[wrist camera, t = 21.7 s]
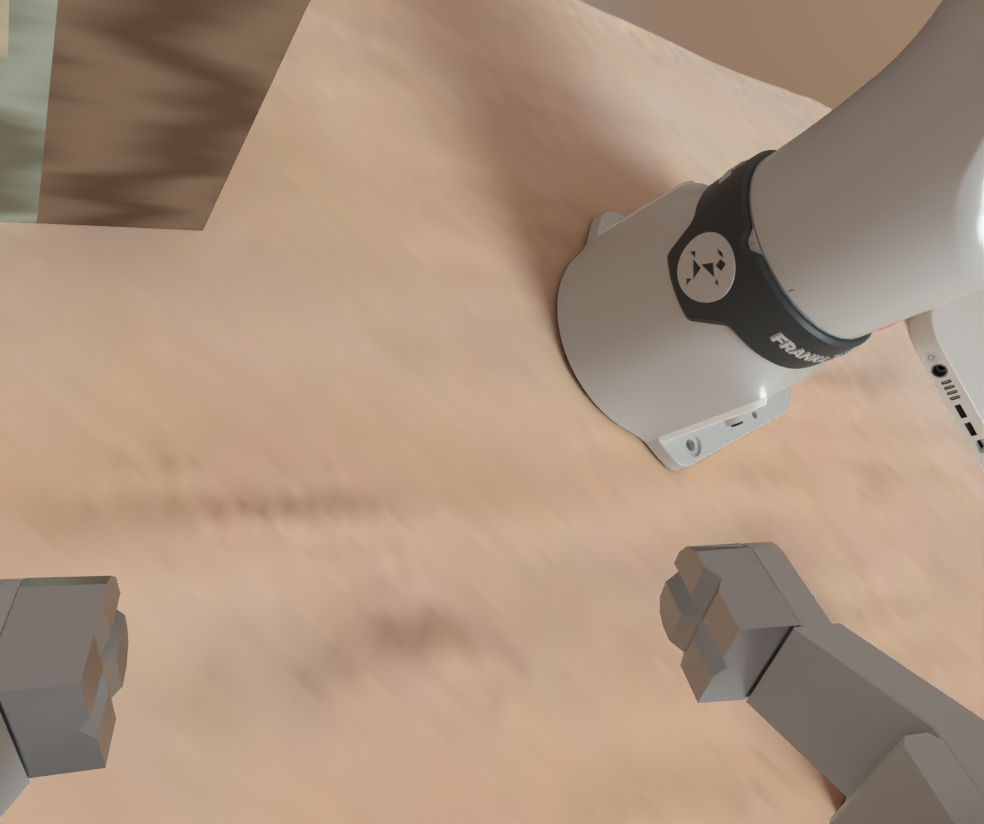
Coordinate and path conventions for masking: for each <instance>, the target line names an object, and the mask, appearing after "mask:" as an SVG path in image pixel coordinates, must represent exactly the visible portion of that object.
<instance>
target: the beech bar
mask: <svg viewBox="0 0 984 824" xmlns="http://www.w3.org/2000/svg"><path fill="white" fill-rule="evenodd" d="M8 33H9V0H0V58H1V59H8Z"/></svg>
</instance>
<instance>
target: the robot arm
mask: <svg viewBox="0 0 984 824" xmlns="http://www.w3.org/2000/svg"><path fill="white" fill-rule="evenodd" d="M983 288H984V0H942V2H941V3H940V5H939V6H938V7H937V9H936V10H935V12H934V13H933V15H932V16H931V17H930V19H929V20H928V21H927V22H926V24H925V25H924V26H923V28H922V29H921V30H920V31H919V32H918V34H917V35H916V36H915V37H914V38H913V39H912V41H911V42H910V43H909V44H908V45H907V46H906V47H905V48H904V49H903V51H902V52H901V53H900V54H899V55H898V56H897V57H896V58H895V59H894V60H893V61H892V62H891V63H890V64H888V65H887V66H886V67H885V68H884V69H883V70H882V71H881V72H880V73H878V74H877V75H876V76H875V77H874V78H872V79H871V80H870V81H869V82H867V83H866V84H865V85H864V86H863V87H861V88H860V89H859V90H858V91H856V92H855V93H854V94H853V95H851V96H850V97H849V98H848V99H847V100H845V101H844V102H843V103H842V104H840V105H839V106H838V107H836V108H835V109H833V110H832V111H831V112H830V113H828V114H827V115H826V116H824V117H823V118H822V119H820V120H819V121H818V122H816V123H815V124H813V125H812V126H811V127H809V128H808V129H807V130H805V131H804V132H802V133H801V134H800V135H798V136H797V137H795V138H794V139H792V140H791V141H789V142H788V143H787V144H785V145H784V146H782V147H781V148H779V149H778V150H767V151H763V152H761V153H759V154H757V155H755V156H754V157H752V158H751V159H749V160H746V161H743V162H741V163H739V164H738V165H736V166H735V167H733V168H731V169H730V170H728V171H727V172H726V173H725V174H724V175H723V177H721V178H720V179H718V180H717V181H715V182H714V183H713V184H711V185H710V186H708V185H705V184H701V183H695V182H693V181H686V182H684V183H681V184H679V185H678V186H676V187H674V188H673V189H671V190H669V191H668V192H666V193H664V194H663V195H661V196H659V197H658V198H656V199H654V200H653V201H651V202H649V203H648V204H646V205H644V206H643V207H641V208H639V209H638V210H636V211H635V212H633V213H631V214H630V215H628V216H625V215H622V214H618V213H615V212H611V211H607V212H605V213H603V214H601V215H599V216H598V217H596V218H595V219H594V220H593V222H592V224H591V227H590V231H589V235H588V240H587V244H586V246H585V247H584V248H583V250H582V251H581V252H580V253H579V254H578V255H577V256H576V257H575V258H574V259H573V260H572V261H571V263H570V264H569V266H568V267H567V269H566V271H565V273H564V275H563V277H562V280H561V284H560V287H559V292H558V301H557V315H558V325H559V331H560V336H561V340H562V344H563V347H564V350H565V353H566V356H567V359H568V361H569V363H570V365H571V368H572V370H573V372H574V374H575V375H576V377H577V379H578V381H579V382H580V384H581V386H582V387H583V389H584V390H585V392H586V393H587V394H588V396H589V397H590V398H591V399H592V401H593V402H594V403H595V404H596V405H597V406H598V408H599V409H600V410H601V411H602V412H603V413H605V414H606V415H607V416H608V417H609V418H610V419H611V420H613V421H614V422H615V423H617V424H618V425H620V426H621V427H623V428H624V429H626V430H628V431H629V432H631V433H633V434H634V435H636V436H637V437H639V438H640V439H642V440H643V441H644V442H645V443H646V444H647V445H648V447H649V448H650V449H651V450H652V452H653V453H654V454H655V455H656V456H657V458H658V459H659V460H660V461H661V462H662V463H663V464H664V465H665V466H666V467H667V468H669V469H670V470H673V471H679V470H682V469H684V468H686V467H688V466H690V465H692V464H694V463H696V462H698V461H699V460H701V459H703V458H705V457H707V456H708V455H710V454H712V453H714V452H716V451H717V450H719V449H721V448H723V447H724V446H726V445H728V444H730V443H732V442H733V441H735V440H737V439H739V438H741V437H742V436H744V435H746V434H748V433H750V432H751V431H753V430H755V429H757V428H759V427H760V426H762V425H764V424H766V423H768V422H769V421H771V420H773V419H775V418H777V417H778V416H780V415H782V414H784V413H785V412H786V411H788V409H789V407H790V386H792V385H794V384H796V383H798V382H800V381H802V380H804V379H806V378H808V377H810V376H812V375H814V374H816V373H818V372H819V371H821V370H822V369H823V367H824V365H825V362H826V361H829V360H832V359H835V358H837V357H839V356H842V355H844V354H846V353H848V352H849V351H851V350H852V349H853V348H854V347H857V346H859V345H860V344H862V343H864V342H865V341H866V340H867V339H868V338H869V337H870V336H871V334H872V332H875V331H878V330H882V329H884V328H887V327H890V326H892V325H894V324H896V323H897V322H900V321H903V320H905V319H908V318H910V317H913V316H915V315H918V314H920V313H923V312H925V311H928V310H931V309H933V308H936V307H938V306H941V305H943V304H946V303H948V302H951V301H953V300H956V299H958V298H961V297H963V296H966V295H968V294H971V293H973V292H976V291H978V290H981V289H983ZM674 564H675V566H676V568H677V570H678V573H676V574H675V575H674V576H673V577H671V578H670V579H669V580H667V581H666V582H665V585H664V587H663V590H662V593H661V595H660V615H661V619H662V624H663V627H664V629H665V632H666V634H667V636H668V639H669V640H670V641H671V642H672V643H673V644H675V645H676V646H677V647H678V648H680V649H681V650H682V651H683V652H684V653H683V657H682V661H681V667H682V669H683V671H684V674H685V676H686V678H687V680H688V682H689V684H690V687H691V689H692V691H693V693H694V695H695V697H696V699H697V702H698V703H703V702H716V701H729V700H741V699H748V700H747V703H748V704H749V705H750V706H751V707H753V708H754V709H755V710H756V711H757V712H758V713H759V714H760V715H761V716H762V717H763V718H764V719H765V720H766V721H767V722H768V723H769V724H770V725H771V726H772V727H774V728H775V729H776V730H777V731H778V732H779V733H780V734H781V735H782V736H783V737H784V738H785V739H786V740H787V741H788V742H789V743H790V744H791V745H792V746H793V747H795V748H796V749H797V750H798V751H799V752H800V753H801V754H802V755H803V756H804V757H805V758H806V759H807V760H808V761H809V762H810V763H811V764H812V765H813V766H814V767H816V768H817V769H818V770H819V771H820V772H821V773H822V774H823V775H824V776H825V777H826V778H827V779H828V780H829V781H830V782H831V783H832V784H833V785H834V786H835V787H837V788H838V789H839V790H840V791H841V792H842V793H843V794H844V795H845V796H846V797H847V798H848V799H847V800H846V801H845V803H844V804H843V805H842V806H841V807H840V808H839V809H838V810H837V811H836V812H835V814H834V815H833V816H832V817H831V820H830V823H829V824H984V720H983V719H981V718H980V717H978V716H977V715H975V714H974V713H972V712H971V711H969V710H968V709H966V708H965V707H963V706H962V705H961V704H959V703H958V702H956V701H955V700H953V699H952V698H950V697H949V696H947V695H946V694H944V693H943V692H941V691H940V690H938V689H937V688H935V687H934V686H932V685H931V684H929V683H928V682H926V681H925V680H923V679H922V678H920V677H919V676H917V675H916V674H914V673H913V672H911V671H910V670H908V669H907V668H905V667H904V666H902V665H901V664H899V663H898V662H897V661H895V660H894V659H892V658H891V657H889V656H888V655H886V654H885V653H883V652H882V651H880V650H879V649H877V648H876V647H874V646H873V645H871V644H870V643H868V642H867V641H865V640H864V639H862V638H861V637H859V636H858V635H856V634H855V633H853V632H852V631H850V630H849V629H847V628H846V627H844V626H843V625H841V624H831V622H830V621H829V619H828V618H827V616H826V615H825V613H824V612H823V610H822V609H821V607H820V606H819V604H818V603H817V601H816V600H815V598H814V597H813V596H812V594H811V593H810V591H809V590H808V588H807V587H806V585H805V584H804V582H803V581H802V579H801V578H800V576H799V575H798V573H797V572H796V570H795V569H794V567H793V566H792V565H791V563H790V562H789V560H788V559H787V557H786V556H785V554H784V553H783V551H782V550H781V549H780V547H778V546H777V545H776V544H774V543H773V542H765V543H745V544H739V543H736V544H721V545H705V546H689V547H685V548H684V549H683V550H681V551H680V552H679V554H678V556H677V558H676V560H675V562H674ZM119 596H120V591H119V587H118V583H117V579H116V577H115V576H89V577H50V578H24V579H0V817H1V816H2V815H3V814H4V813H5V811H6V810H7V809H8V808H9V807H10V805H11V804H12V803H13V802H14V801H15V799H16V798H17V797H18V796H19V795H20V793H21V792H22V791H23V790H24V788H25V787H26V786H27V785H28V784H29V779H28V778H33V777H40V776H48V775H55V774H63V773H70V772H78V771H85V770H92V769H100V768H105V767H106V762H107V758H108V753H109V748H110V744H111V739H112V734H113V730H114V725H115V720H116V716H115V712H114V708H113V704H112V700H111V698H112V697H113V696H114V695H115V694H116V693H117V692H118V690H119V689H120V688H121V687H122V686H123V682H124V676H125V671H126V666H127V653H128V631H127V623H126V618H125V615H124V614H122V613H121V612H119V611H118V610H117V605H118V601H119Z"/></svg>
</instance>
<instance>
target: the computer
mask: <svg viewBox="0 0 984 824" xmlns="http://www.w3.org/2000/svg"><path fill="white" fill-rule="evenodd" d="M909 332H910V337H911V341H912V344H913V346H914V349H915V351H916V353H917V355H918V356H919V358H920V360H921V362H922V364H923V365H924V367H925V369H926V371H927V372H928V374H929V376H930V378H931V379H932V381H933V383H934V385H935V387H936V388H937V390H938V392H939V394H940V395H941V397H942V399H943V401H944V402H945V404H946V406H947V408H948V410H949V411H950V413H951V415H952V417H953V418H954V420H955V422H956V424H957V426H958V427H959V429H960V431H961V433H962V434H963V436H964V438H965V440H966V441H967V443H968V445H969V447H970V449H971V450H972V452H973V454H974V456H975V457H976V459H977V461H978V463H979V464H980V466H981V468H982V470H983V472H984V288H983V289H981V290H978V291H976V292H973V293H971V294H968V295H966V296H963V297H961V298H958V299H956V300H953V301H951V302H948V303H946V304H943V305H941V306H938V307H936V308H933V309H931V310H928V311H925V312H923V313H920V314H918V315H915V316H913V317H910V319H909Z"/></svg>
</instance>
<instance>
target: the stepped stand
mask: <svg viewBox="0 0 984 824" xmlns="http://www.w3.org/2000/svg"><path fill="white" fill-rule="evenodd" d="M309 2H310V0H9V33H8V59H1V58H0V221H7V222H29V223H51V224H73V225H95V226H117V227H140V228H162V229H184V230H203V229H204V227H205V225H206V222H207V220H208V218H209V216H210V214H211V212H212V210H213V207H214V205H215V203H216V201H217V199H218V197H219V195H220V192H221V190H222V188H223V186H224V184H225V182H226V180H227V177H228V175H229V173H230V171H231V169H232V167H233V165H234V162H235V160H236V158H237V156H238V154H239V152H240V150H241V147H242V145H243V143H244V141H245V139H246V137H247V135H248V132H249V130H250V128H251V126H252V124H253V122H254V120H255V117H256V115H257V113H258V111H259V109H260V107H261V105H262V102H263V100H264V98H265V96H266V94H267V92H268V90H269V87H270V85H271V83H272V81H273V79H274V77H275V75H276V72H277V70H278V68H279V66H280V64H281V62H282V60H283V57H284V55H285V53H286V51H287V49H288V47H289V45H290V42H291V40H292V38H293V36H294V34H295V32H296V30H297V27H298V25H299V23H300V21H301V19H302V17H303V15H304V12H305V10H306V8H307V6H308V4H309Z"/></svg>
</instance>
